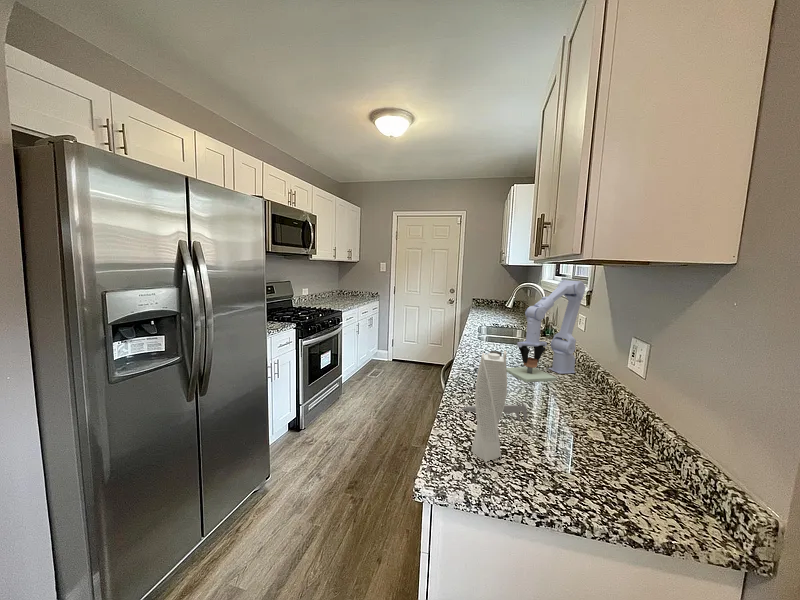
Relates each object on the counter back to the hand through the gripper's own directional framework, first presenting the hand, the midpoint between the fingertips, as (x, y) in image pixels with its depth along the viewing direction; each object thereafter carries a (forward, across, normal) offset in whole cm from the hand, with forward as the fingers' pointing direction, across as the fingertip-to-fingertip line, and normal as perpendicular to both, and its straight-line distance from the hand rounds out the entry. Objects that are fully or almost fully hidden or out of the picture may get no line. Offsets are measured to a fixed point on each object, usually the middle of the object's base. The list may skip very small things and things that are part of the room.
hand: (530, 362), depth 152 cm
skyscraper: (+6, -55, -54) cm, 77 cm away
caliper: (+7, -40, -33) cm, 53 cm away
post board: (+6, 0, 0) cm, 6 cm away
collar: (+2, 0, 0) cm, 2 cm away
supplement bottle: (+6, -20, -2) cm, 21 cm away
